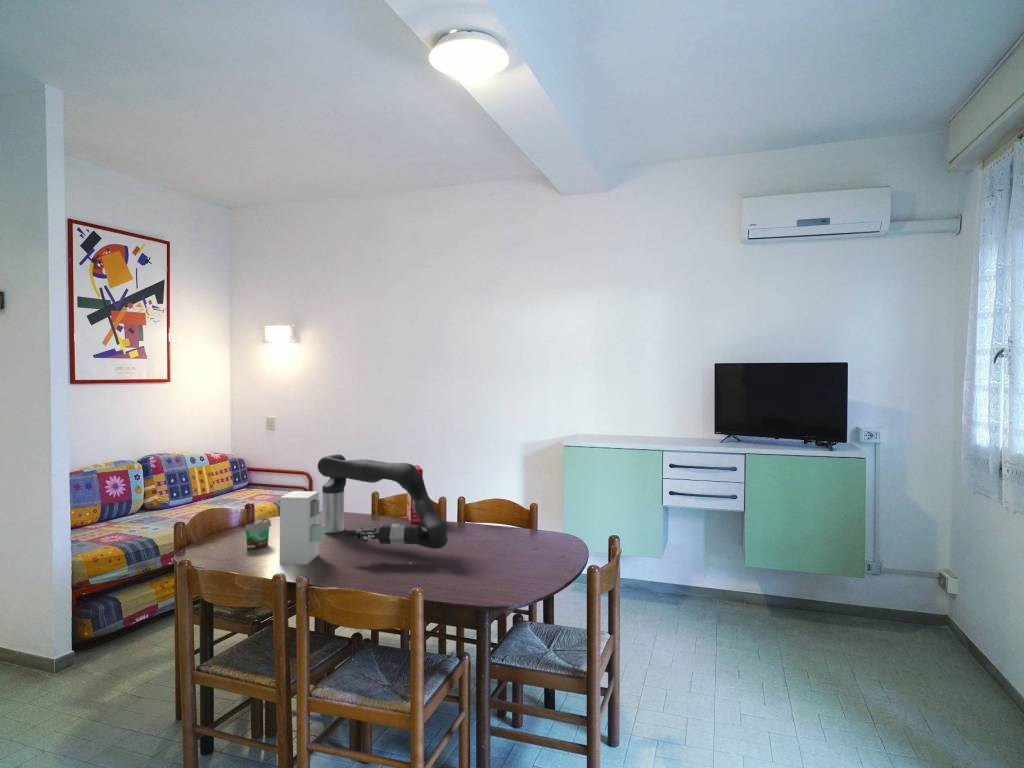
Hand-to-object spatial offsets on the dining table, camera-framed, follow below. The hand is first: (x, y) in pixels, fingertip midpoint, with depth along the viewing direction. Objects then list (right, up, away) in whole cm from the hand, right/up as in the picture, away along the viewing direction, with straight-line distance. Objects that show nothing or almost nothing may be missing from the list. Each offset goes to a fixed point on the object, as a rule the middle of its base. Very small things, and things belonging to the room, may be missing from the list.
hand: (346, 533), depth 224 cm
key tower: (-17, -10, 0) cm, 20 cm away
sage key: (-12, -2, 0) cm, 12 cm away
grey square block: (-14, +7, 0) cm, 15 cm away
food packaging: (+15, -10, +64) cm, 67 cm away
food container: (-38, -10, +16) cm, 42 cm away
